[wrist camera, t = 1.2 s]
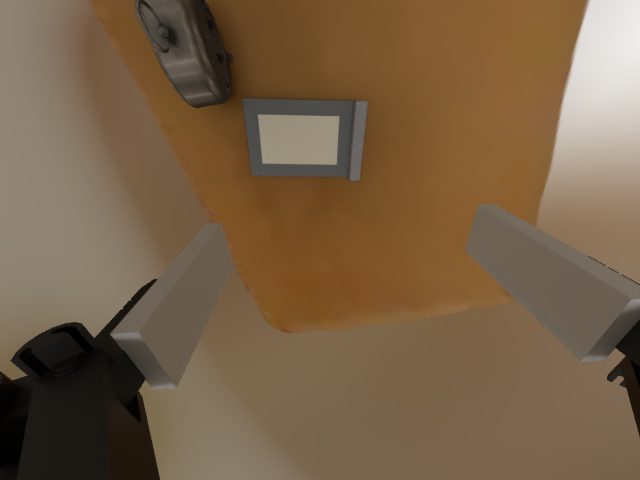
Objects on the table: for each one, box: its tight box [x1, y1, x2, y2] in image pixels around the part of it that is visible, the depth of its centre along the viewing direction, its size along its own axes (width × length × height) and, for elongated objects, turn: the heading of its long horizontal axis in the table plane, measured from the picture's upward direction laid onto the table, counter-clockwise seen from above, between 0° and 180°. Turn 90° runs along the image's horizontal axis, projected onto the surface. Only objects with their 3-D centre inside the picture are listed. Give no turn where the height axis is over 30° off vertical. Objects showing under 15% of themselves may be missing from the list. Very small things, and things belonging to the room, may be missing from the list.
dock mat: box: [242, 98, 368, 181], centre depth 36 cm, size 11×18×3 cm, turn 89°
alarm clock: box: [134, 0, 233, 108], centre depth 25 cm, size 11×5×16 cm, turn 8°
